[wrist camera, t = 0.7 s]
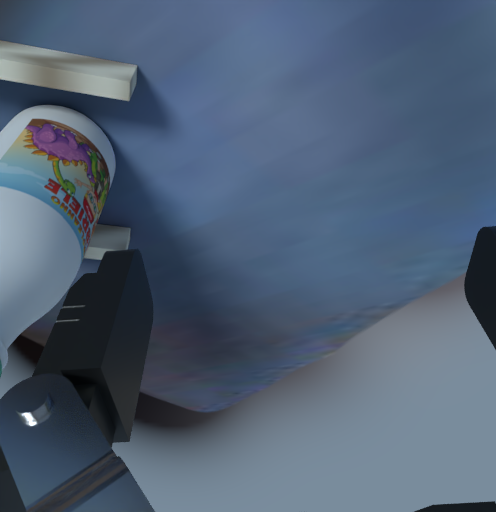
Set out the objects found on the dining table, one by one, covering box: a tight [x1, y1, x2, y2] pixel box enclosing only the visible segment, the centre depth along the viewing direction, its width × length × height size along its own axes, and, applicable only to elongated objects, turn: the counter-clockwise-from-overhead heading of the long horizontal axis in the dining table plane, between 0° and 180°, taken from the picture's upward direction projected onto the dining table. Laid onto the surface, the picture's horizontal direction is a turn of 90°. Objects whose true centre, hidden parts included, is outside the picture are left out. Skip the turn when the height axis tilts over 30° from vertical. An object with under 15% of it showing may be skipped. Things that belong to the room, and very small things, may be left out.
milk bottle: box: [0, 105, 116, 377], centre depth 26 cm, size 8×8×20 cm
